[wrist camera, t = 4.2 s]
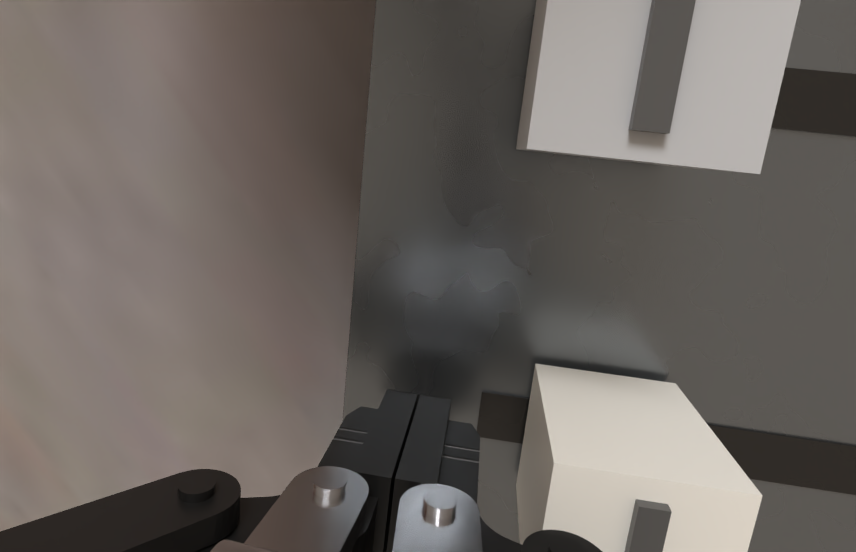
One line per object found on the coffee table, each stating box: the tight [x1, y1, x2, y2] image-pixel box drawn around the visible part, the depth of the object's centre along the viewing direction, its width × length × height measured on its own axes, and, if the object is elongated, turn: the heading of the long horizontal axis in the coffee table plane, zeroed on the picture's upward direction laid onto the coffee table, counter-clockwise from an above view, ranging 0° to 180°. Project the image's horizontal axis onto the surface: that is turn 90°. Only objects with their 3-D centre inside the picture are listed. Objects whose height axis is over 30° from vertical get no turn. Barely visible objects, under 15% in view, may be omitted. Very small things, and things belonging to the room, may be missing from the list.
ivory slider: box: [516, 364, 762, 552], centre depth 11 cm, size 3×3×5 cm
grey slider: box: [516, 0, 801, 174], centre depth 10 cm, size 3×3×5 cm
